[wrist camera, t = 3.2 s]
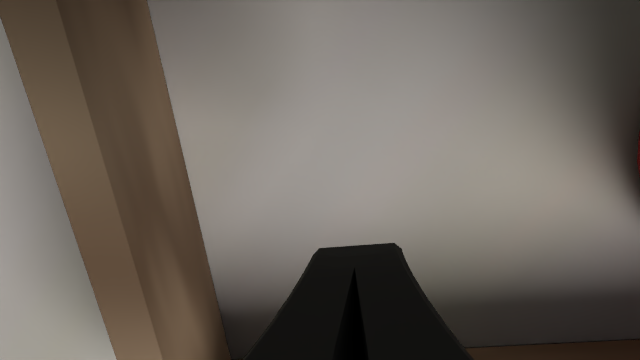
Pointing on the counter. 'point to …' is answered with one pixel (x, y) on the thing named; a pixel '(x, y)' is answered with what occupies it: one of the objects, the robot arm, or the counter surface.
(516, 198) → the counter surface
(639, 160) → the canned food
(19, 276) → the counter surface
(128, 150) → the wooden tray
